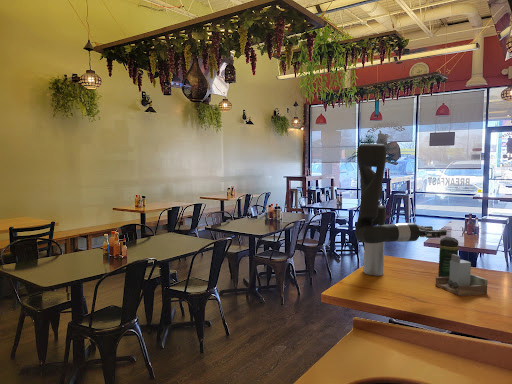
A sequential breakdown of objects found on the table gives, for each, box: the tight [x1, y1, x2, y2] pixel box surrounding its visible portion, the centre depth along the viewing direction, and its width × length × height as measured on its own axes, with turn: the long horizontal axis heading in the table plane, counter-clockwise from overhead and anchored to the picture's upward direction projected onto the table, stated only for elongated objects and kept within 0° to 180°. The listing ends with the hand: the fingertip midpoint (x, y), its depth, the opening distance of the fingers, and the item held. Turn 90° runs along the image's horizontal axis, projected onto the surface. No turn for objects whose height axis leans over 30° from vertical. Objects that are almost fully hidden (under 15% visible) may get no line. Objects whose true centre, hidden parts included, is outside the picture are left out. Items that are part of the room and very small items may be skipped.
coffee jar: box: [437, 236, 459, 277], centre depth 185 cm, size 10×8×19 cm
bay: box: [434, 273, 488, 297], centre depth 167 cm, size 14×13×6 cm
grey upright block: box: [448, 254, 472, 289], centre depth 166 cm, size 5×7×14 cm
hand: (438, 230), depth 162 cm, fingers open, 8 cm apart
